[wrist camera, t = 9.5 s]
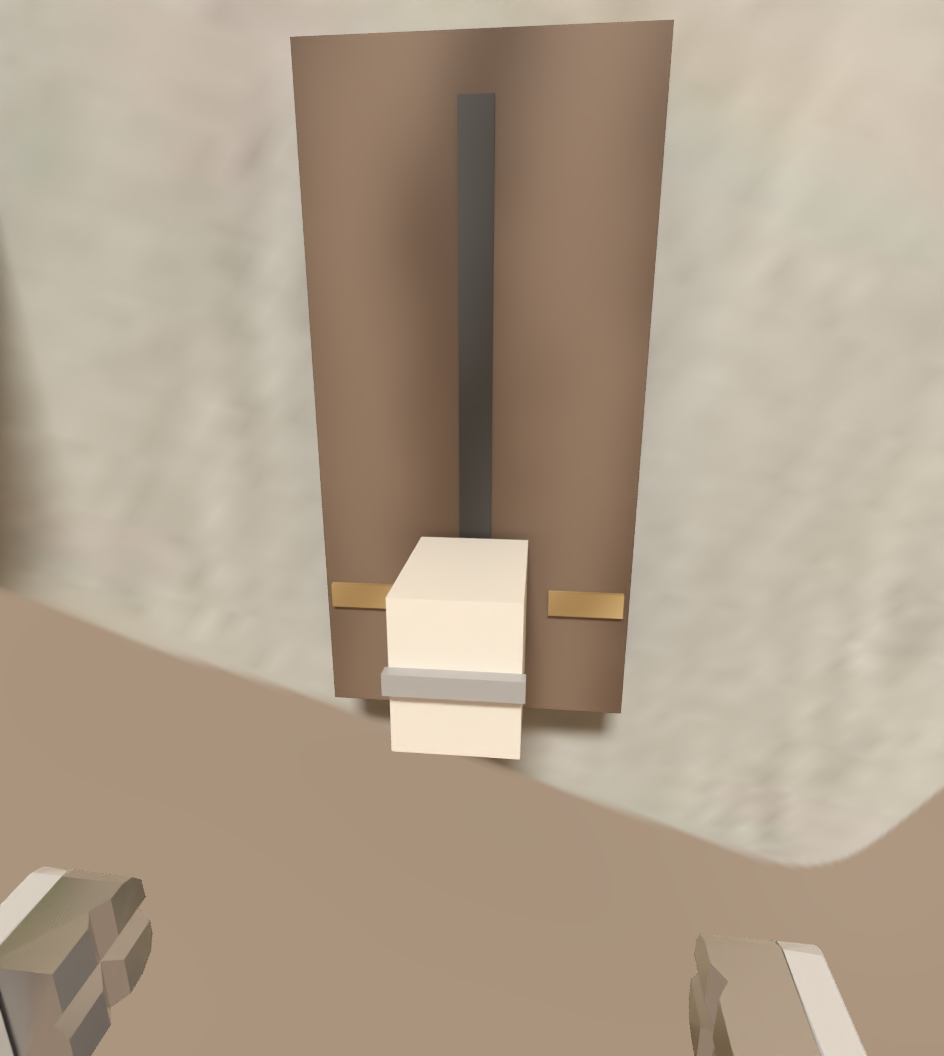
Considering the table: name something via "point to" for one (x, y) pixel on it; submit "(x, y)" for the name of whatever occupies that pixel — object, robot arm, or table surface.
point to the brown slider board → (483, 320)
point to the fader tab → (458, 648)
